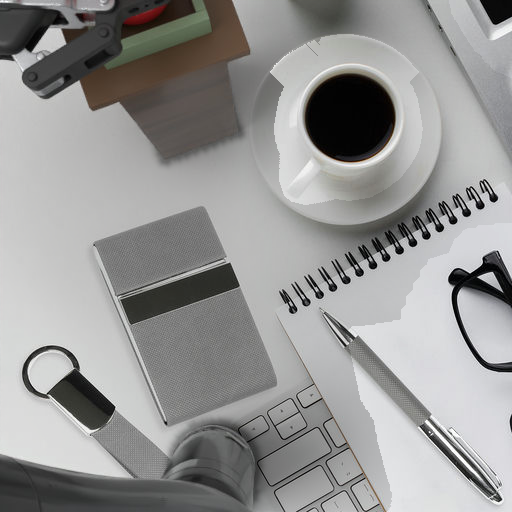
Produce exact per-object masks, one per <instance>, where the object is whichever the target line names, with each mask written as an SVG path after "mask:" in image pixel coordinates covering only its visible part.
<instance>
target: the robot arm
mask: <svg viewBox="0 0 512 512" xmlns="http://www.w3.org/2000/svg"><path fill="white" fill-rule="evenodd" d="M170 1H171V0H0V61H10V62H14V63H16V65H17V67H18V68H19V70H20V72H21V82H22V83H23V85H25V87H26V88H28V90H30V91H32V93H34V95H36V96H37V97H39V98H40V99H41V100H49V99H51V98H53V97H55V96H56V95H58V94H59V93H61V92H62V91H64V90H66V89H68V88H69V87H71V86H72V85H74V84H75V83H77V82H80V81H79V80H80V79H82V78H84V77H85V76H87V75H88V74H90V73H92V72H93V71H95V70H97V69H98V68H100V67H101V66H103V65H105V64H106V63H108V62H110V61H111V60H113V59H114V58H116V57H118V56H119V55H120V54H121V53H122V50H123V46H122V43H121V27H122V24H123V22H124V21H125V20H126V19H128V18H130V17H133V16H135V15H138V14H141V13H144V12H147V11H149V10H151V9H155V8H157V7H161V6H163V5H166V4H168V3H169V2H170ZM85 26H95V27H93V28H91V29H90V30H88V31H87V32H85V33H83V34H82V35H80V36H78V37H77V38H75V39H74V40H72V41H70V42H69V43H67V44H66V43H65V44H64V45H62V46H61V47H59V48H58V49H55V50H54V51H52V52H51V51H49V50H47V49H46V50H43V49H42V50H40V51H37V52H33V51H34V50H35V48H36V47H37V46H38V44H39V43H40V41H41V40H42V38H43V37H44V36H45V34H46V33H47V31H48V30H49V29H61V28H63V29H82V28H84V27H85ZM255 477H256V460H255V455H254V452H253V450H252V448H251V446H250V444H249V443H248V441H247V440H246V439H245V438H244V436H242V435H241V434H240V433H238V432H237V431H236V430H235V429H232V428H230V427H227V426H224V425H220V424H219V425H218V424H208V425H203V426H200V427H197V428H195V429H192V430H191V431H190V432H188V433H187V434H185V436H183V437H182V438H181V439H180V441H179V442H178V444H177V445H176V446H175V448H174V451H173V453H172V456H171V458H170V461H169V462H168V464H167V465H166V468H165V469H164V472H163V474H162V475H161V477H160V478H145V477H144V478H143V477H142V478H141V477H123V476H122V477H120V476H111V475H103V474H95V473H88V472H84V471H77V470H72V469H66V468H62V467H61V468H60V467H56V466H51V465H46V464H42V463H38V462H33V461H29V460H26V459H21V458H17V457H14V456H10V455H6V454H2V453H0V512H253V507H254V484H255Z"/></svg>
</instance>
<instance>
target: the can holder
mask: <svg viewBox="0 0 512 512" xmlns="http://www.w3.org/2000/svg"><path fill="white" fill-rule="evenodd" d="M93 27H95V26H85V27H84V28H82V29H63V28H60V30H61V33H62V36H63V39H64V41H65V44H67V43H69V42H70V41H72V40H74V39H75V38H77V37H78V36H80V35H82V34H83V33H85V32H87V31H88V30H90V29H91V28H93ZM121 43H122V46H123V50H122V53H121V54H120V55H119V56H118V57H116V58H114V59H113V60H111V61H110V62H108V63H106V64H105V65H103V66H101V67H100V68H98V69H97V70H95V71H93V72H92V73H90V74H88V75H87V76H85V77H84V78H82V79H80V80H79V81H78V82H79V84H80V86H81V89H82V93H83V95H84V98H85V100H86V103H87V107H88V108H89V109H90V111H92V112H96V111H98V110H99V111H100V110H102V109H104V108H107V107H110V106H112V105H115V104H118V103H119V102H121V101H124V100H126V99H129V98H132V97H135V96H137V95H140V94H143V93H146V92H148V91H151V90H154V89H157V88H159V87H162V86H165V85H168V84H170V83H173V82H176V81H179V80H181V79H184V78H187V77H190V76H192V75H195V74H198V73H201V72H204V71H206V70H209V69H212V68H215V67H217V66H220V65H223V64H226V63H227V64H228V63H230V62H231V63H232V62H234V61H237V60H239V59H242V58H245V57H248V56H250V55H251V48H250V47H251V46H250V43H249V42H248V39H247V36H246V33H245V31H244V28H243V26H242V23H241V20H240V18H239V14H238V13H237V9H236V7H235V4H234V2H233V0H171V1H170V2H169V3H168V4H167V6H166V7H165V9H164V10H163V11H162V13H161V14H160V15H159V16H157V17H156V18H155V19H153V20H152V21H150V22H148V23H145V24H141V25H128V24H122V27H121Z"/></svg>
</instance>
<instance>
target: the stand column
mask: <svg viewBox="0 0 512 512" xmlns="http://www.w3.org/2000/svg"><path fill="white" fill-rule="evenodd" d="M229 72H230V71H229V66H228V63H226V64H223V65H220V66H217V67H215V68H212V69H209V70H206V71H204V72H201V73H198V74H195V75H192V76H190V77H187V78H184V79H181V80H179V81H176V82H173V83H170V84H168V85H165V86H162V87H159V88H157V89H154V90H151V91H148V92H146V93H143V94H140V95H137V96H135V97H132V98H129V99H126V100H124V101H121V102H118V103H119V104H120V105H121V106H122V108H123V109H124V111H126V113H127V114H128V116H130V118H131V120H133V122H134V123H135V124H136V125H137V127H138V128H139V129H140V130H141V132H142V133H143V134H144V136H145V137H146V139H148V140H149V142H150V143H151V144H152V146H153V147H154V149H156V151H157V153H159V155H160V156H161V157H162V158H163V160H168V159H170V158H173V157H176V156H178V155H182V154H184V153H187V152H190V151H192V150H195V149H198V148H201V147H203V146H206V145H208V144H212V143H215V142H217V141H220V140H223V139H225V138H228V137H231V136H233V135H236V134H239V128H238V124H237V123H238V122H237V117H236V110H235V109H236V108H235V105H234V98H233V92H232V84H231V79H230V73H229Z"/></svg>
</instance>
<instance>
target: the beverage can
mask: <svg viewBox="0 0 512 512" xmlns="http://www.w3.org/2000/svg"><path fill="white" fill-rule="evenodd" d="M166 6H167V4H166V5H163V6H161V7H157V8H155V9H151V10H149V11H147V12H144V13H141V14H138V15H135V16H133V17H130V18H128V19H126V20H125V21H124V22H123V24H128V25H141V24H145V23H148V22H150V21H152V20H153V19H155V18H156V17H157V16H159V15H160V14H161V13H162V11H163V10H164V9H165V7H166Z"/></svg>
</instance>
